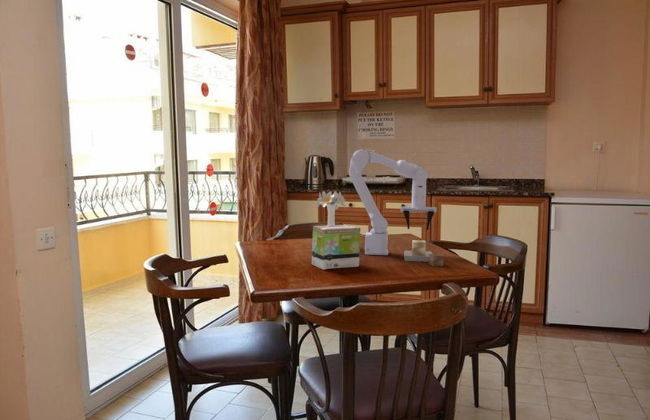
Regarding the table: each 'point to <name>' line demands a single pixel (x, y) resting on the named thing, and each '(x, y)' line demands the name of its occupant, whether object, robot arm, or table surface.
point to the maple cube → (418, 247)
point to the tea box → (335, 246)
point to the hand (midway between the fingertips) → (417, 229)
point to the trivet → (416, 256)
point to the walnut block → (436, 259)
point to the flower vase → (331, 204)
